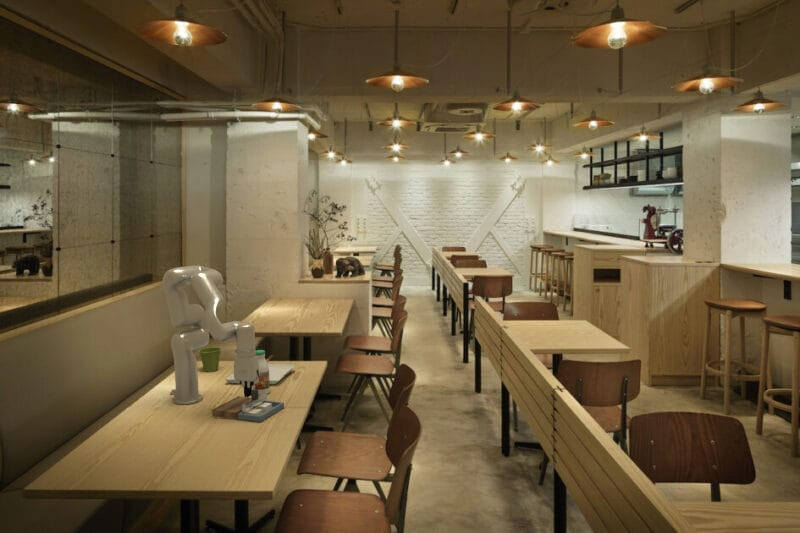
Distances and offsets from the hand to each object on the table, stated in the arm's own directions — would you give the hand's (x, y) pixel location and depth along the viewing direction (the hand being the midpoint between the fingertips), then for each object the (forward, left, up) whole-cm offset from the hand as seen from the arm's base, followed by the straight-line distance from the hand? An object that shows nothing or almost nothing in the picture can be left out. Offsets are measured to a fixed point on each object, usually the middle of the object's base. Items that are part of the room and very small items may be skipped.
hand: (248, 396), depth 249 cm
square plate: (-23, +46, -8) cm, 52 cm away
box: (+6, 0, -7) cm, 9 cm away
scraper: (+3, 0, -4) cm, 5 cm away
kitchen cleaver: (-40, +73, -8) cm, 84 cm away
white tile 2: (+5, +4, -7) cm, 9 cm away
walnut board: (-5, 0, -7) cm, 9 cm away
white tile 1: (+5, -4, -7) cm, 9 cm away
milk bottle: (-9, +24, -7) cm, 27 cm away
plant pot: (-57, +50, -7) cm, 77 cm away
